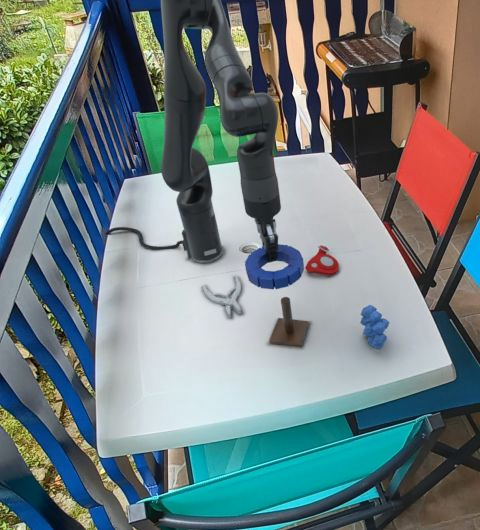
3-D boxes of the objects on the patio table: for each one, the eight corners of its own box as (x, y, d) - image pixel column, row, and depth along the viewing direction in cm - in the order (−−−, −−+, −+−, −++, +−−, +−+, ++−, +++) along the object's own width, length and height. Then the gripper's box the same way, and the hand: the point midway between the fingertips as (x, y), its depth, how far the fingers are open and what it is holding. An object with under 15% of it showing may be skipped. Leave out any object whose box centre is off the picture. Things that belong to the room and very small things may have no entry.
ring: (239, 286, 106) (237, 276, 105) (257, 251, 116) (255, 241, 114) (295, 292, 105) (294, 282, 103) (309, 256, 115) (308, 246, 113)
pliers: (236, 273, 140) (252, 305, 130) (237, 277, 141) (253, 309, 131) (201, 283, 136) (215, 317, 126) (202, 287, 137) (216, 322, 127)
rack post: (269, 343, 122) (263, 309, 114) (278, 320, 128) (273, 287, 121) (301, 347, 121) (297, 313, 114) (308, 323, 127) (305, 290, 120)
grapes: (398, 355, 119) (401, 320, 112) (373, 364, 117) (373, 328, 110) (379, 323, 128) (380, 288, 120) (355, 330, 125) (354, 295, 118)
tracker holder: (346, 268, 143) (316, 273, 137) (341, 278, 146) (312, 284, 140) (327, 239, 149) (298, 243, 143) (323, 250, 152) (294, 254, 146)
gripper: (236, 179, 107) (248, 243, 118) (249, 212, 97) (260, 279, 108) (270, 173, 109) (279, 236, 120) (286, 204, 99) (294, 271, 110)
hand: (270, 256), depth 114 cm, fingers closed on ring, 3 cm apart
